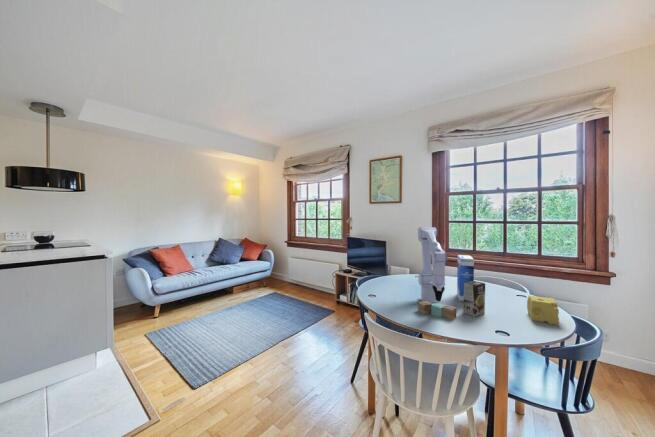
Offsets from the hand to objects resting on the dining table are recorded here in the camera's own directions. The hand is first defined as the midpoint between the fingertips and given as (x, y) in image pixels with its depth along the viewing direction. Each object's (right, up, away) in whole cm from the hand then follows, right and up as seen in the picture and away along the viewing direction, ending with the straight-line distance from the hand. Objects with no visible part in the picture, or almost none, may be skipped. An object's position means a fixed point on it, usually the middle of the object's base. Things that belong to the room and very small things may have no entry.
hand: (438, 300), depth 127 cm
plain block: (0, -8, 0) cm, 8 cm away
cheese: (+50, -8, -4) cm, 51 cm away
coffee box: (+20, -8, +2) cm, 21 cm away
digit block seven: (+4, -8, -3) cm, 9 cm away
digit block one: (-6, -7, +3) cm, 10 cm away
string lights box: (+27, -7, +24) cm, 37 cm away
